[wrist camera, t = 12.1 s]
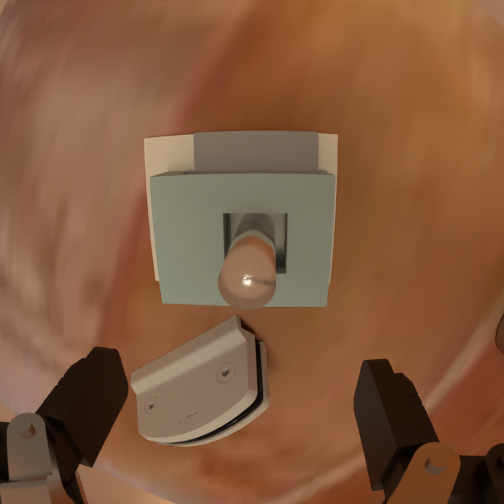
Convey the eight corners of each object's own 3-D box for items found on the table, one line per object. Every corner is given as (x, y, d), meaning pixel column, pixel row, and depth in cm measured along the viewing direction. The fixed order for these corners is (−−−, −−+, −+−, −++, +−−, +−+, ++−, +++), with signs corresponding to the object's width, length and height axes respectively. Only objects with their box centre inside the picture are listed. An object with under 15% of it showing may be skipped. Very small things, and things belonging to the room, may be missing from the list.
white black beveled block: (239, 312, 31) (254, 402, 22) (265, 334, 33) (284, 417, 25) (129, 373, 34) (123, 447, 26) (157, 388, 37) (157, 458, 29)
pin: (274, 210, 26) (276, 257, 16) (274, 245, 27) (275, 310, 17) (238, 210, 26) (216, 256, 16) (239, 245, 27) (219, 309, 17)
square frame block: (335, 134, 25) (350, 132, 20) (328, 279, 29) (338, 306, 24) (148, 138, 25) (122, 138, 21) (159, 276, 30) (140, 301, 25)
